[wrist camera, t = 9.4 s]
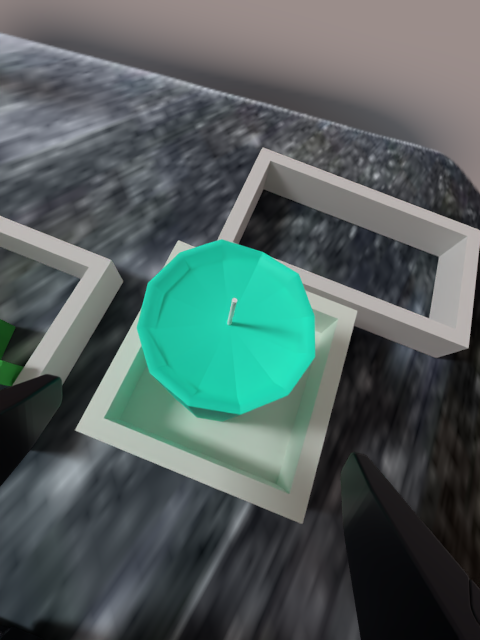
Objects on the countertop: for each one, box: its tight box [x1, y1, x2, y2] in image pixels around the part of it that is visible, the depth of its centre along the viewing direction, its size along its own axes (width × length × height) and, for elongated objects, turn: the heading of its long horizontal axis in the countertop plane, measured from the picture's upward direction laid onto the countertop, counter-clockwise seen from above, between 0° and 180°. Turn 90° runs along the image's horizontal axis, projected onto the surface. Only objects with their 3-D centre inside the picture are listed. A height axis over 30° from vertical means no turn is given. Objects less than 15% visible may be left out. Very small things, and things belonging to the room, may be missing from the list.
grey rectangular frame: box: [218, 148, 480, 358], centre depth 23 cm, size 10×18×3 cm, turn 69°
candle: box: [137, 239, 315, 422], centre depth 14 cm, size 6×6×12 cm
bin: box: [75, 241, 357, 524], centre depth 19 cm, size 12×12×4 cm
